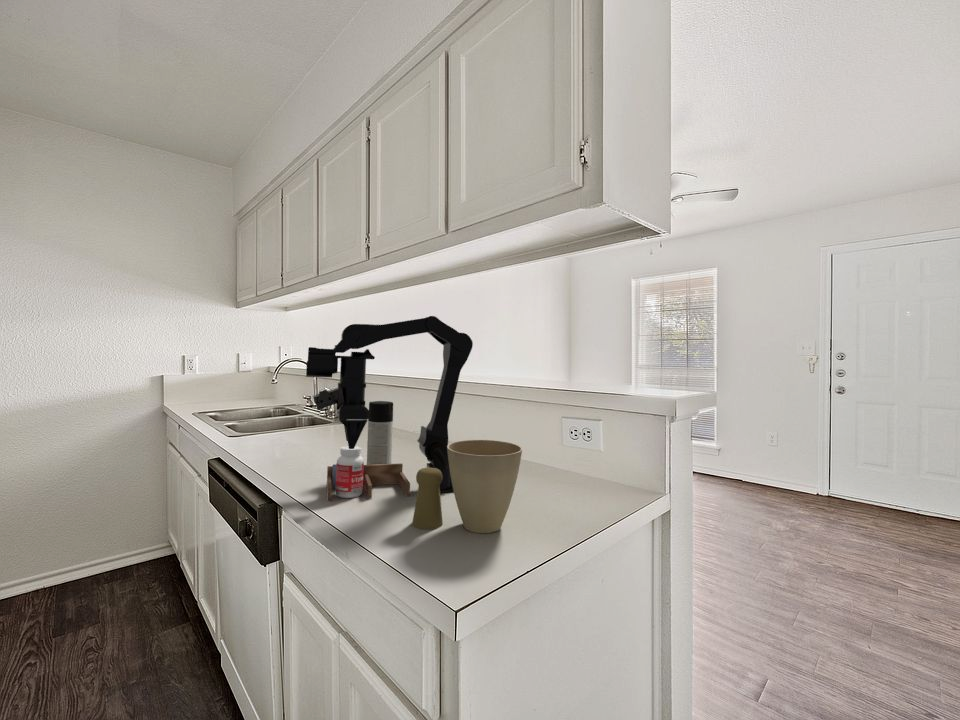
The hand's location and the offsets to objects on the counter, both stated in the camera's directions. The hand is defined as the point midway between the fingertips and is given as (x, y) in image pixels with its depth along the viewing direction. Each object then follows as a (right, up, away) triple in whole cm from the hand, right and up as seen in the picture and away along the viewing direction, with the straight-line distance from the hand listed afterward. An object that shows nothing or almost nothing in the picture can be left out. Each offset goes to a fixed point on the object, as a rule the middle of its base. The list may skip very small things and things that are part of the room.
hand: (350, 444), depth 108 cm
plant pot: (+31, -13, -16) cm, 37 cm away
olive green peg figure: (+20, -13, -16) cm, 29 cm away
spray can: (+3, -12, +18) cm, 22 cm away
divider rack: (+3, -12, +3) cm, 13 cm away
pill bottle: (0, -12, 0) cm, 12 cm away
